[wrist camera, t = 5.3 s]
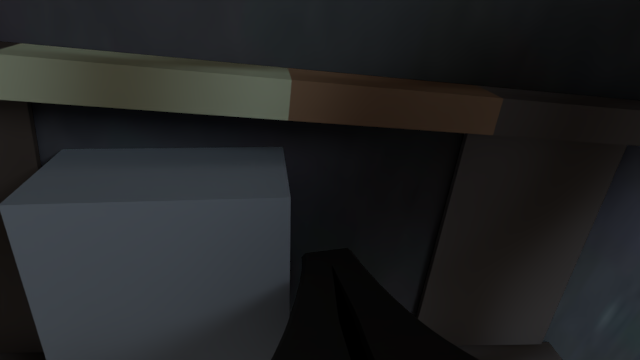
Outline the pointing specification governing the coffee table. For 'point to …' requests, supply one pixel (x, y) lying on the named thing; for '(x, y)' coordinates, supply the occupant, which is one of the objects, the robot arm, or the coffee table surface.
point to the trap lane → (376, 111)
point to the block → (155, 252)
